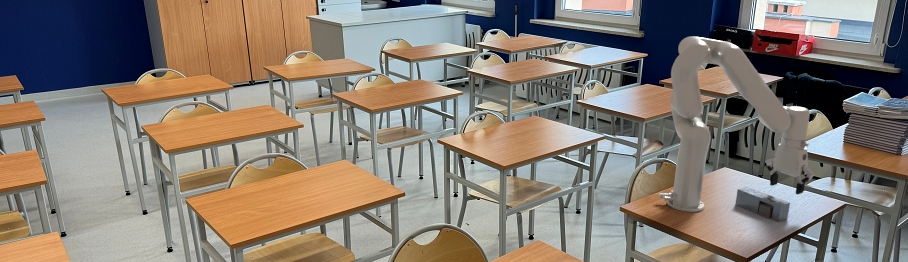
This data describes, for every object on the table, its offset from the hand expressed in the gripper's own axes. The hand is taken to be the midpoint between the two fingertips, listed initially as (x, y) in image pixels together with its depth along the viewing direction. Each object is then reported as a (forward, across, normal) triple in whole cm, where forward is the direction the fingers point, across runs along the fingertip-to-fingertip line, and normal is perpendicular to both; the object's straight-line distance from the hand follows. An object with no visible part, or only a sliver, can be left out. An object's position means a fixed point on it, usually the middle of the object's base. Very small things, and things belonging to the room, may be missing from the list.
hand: (786, 189), depth 227 cm
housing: (+8, +4, +7) cm, 12 cm away
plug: (+8, +1, +5) cm, 10 cm away
